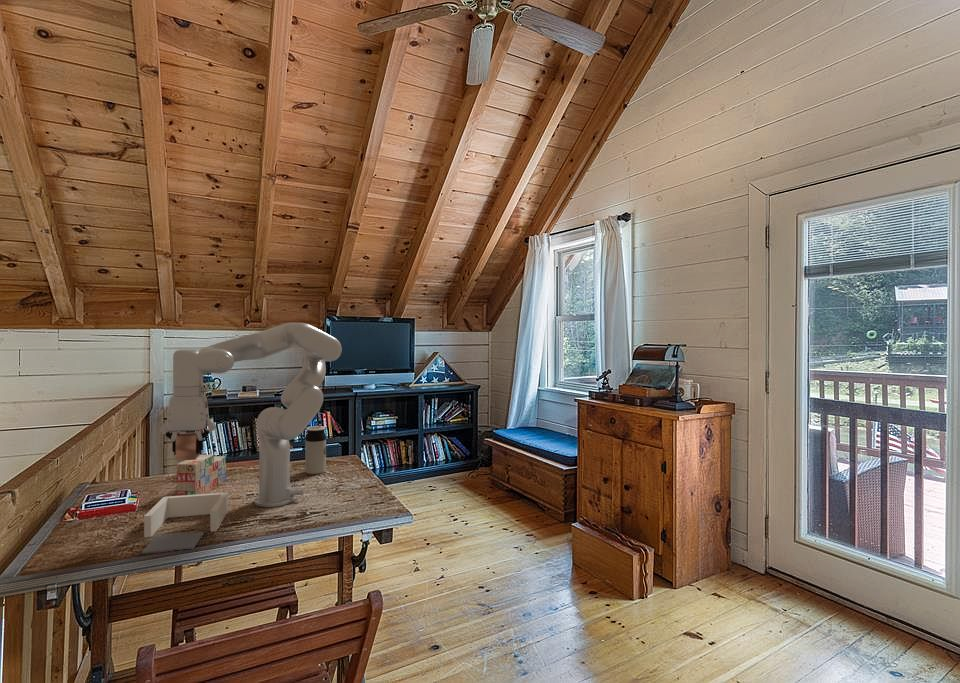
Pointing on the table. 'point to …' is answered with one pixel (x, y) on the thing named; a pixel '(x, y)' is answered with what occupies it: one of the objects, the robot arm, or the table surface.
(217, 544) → the table surface
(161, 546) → the mat
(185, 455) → the block
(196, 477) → the stack of blocks
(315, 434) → the travel mug
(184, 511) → the u-shaped wall
